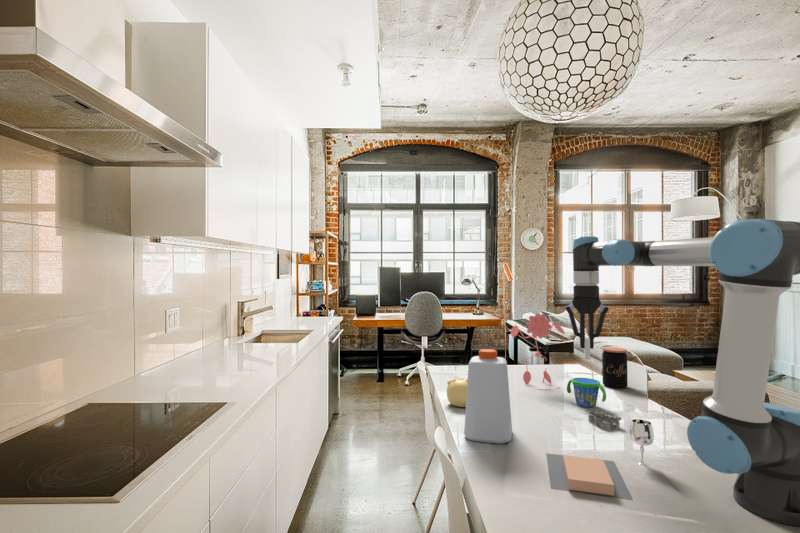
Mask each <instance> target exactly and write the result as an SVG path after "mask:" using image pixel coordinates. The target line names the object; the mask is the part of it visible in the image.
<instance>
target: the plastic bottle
mask: <svg viewBox="0 0 800 533" xmlns="http://www.w3.org/2000/svg"><path fill="white" fill-rule="evenodd" d="M467 380H468V381H467V397H466V407H465V413H464V414H465V415H464V430H463V433H464V436H465V438H467V439H468V440H469V441H473V442H480V443H489V444H497V445H503V444H508V443H510V442H511V441H512V438H513V426H512V425H513V423H512V413H511V398H510V397H511V396H510V384H509V373H508V360H506V358H504V357H501V356H498V351H497V350H496V349H491V348H483V349H479V350H478V355H474V356H472V357H471V358H470V360H469V362H468V370H467Z"/></svg>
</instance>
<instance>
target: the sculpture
mask: <svg viewBox="0 0 800 533" xmlns="http://www.w3.org/2000/svg"><path fill="white" fill-rule="evenodd" d="M467 381H468V379H465V378H463V377H458V378H455V379H451V380H448V381H446V383H447V387H446V397H447V401H448V402H449V404H450V405H452V406H454V407H459V408H464V407H465V408H466V397H467Z"/></svg>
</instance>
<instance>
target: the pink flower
mask: <svg viewBox="0 0 800 533" xmlns="http://www.w3.org/2000/svg"><path fill="white" fill-rule="evenodd" d="M528 319H529V322H527V323H526V327H527V329H526V333H527V334H531V335H530V336H525V335H524V334H523V333H522V331H521V330H520V329H519V327H518V325H517V324H515V325H513V327H511V329H510V335H511V337H512V339H514V338H515V337H516V336H517V335H519V333H520V334H521V336H522V337H523V339H529V338H533V339H535V345H536V351H535V352H534V355H531V356H529V357H527V358H526V359H525V364H526V365H525V366H526V368H528V361H527V360H528V359H531V358H533V357H537V358H539V357H542V358H544V359H545V360H547V357H545V356H544V355H542V352H540V351H539V346H538V342H537V341H538V340H537V338H539V339H543V338H545V337H546V338H547V337H548V336H549V335H550V332H551V330H552V328H553V327H554V329H556V330H557V331H558V332H559V333H561V334H563V335H566V332H565V331H564V329H563V328H562V327H561V325H560V324H558V323H557V322H555V321H553V322H552V325H551V324H550V323H551V319H550V318H546V314H545V313H543V312H542V313H541V314H540V313H535V314H534V315H529V316H528ZM542 374H543V378H542V383H545V381H546V382H548V384H550V385H552V379H551V376H550V374H549V373H548V372H547V369H545V370H544V371H543V373H542ZM522 379H523V382H524V384H525V386H527V385H528V384H530V382H531V379H532V374H531V372H530V371H529V370H528V369H526V371H524V373H523V376H522ZM538 390H543V391H544V390H545V391H549V390H550V391H551V390H553V388H552V389H551V388H550V389H549V388H548V389H546V388H545V389H544V388H543V389H542V388H538ZM556 390H559V387H557V388H556Z"/></svg>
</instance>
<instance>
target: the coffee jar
mask: <svg viewBox="0 0 800 533" xmlns="http://www.w3.org/2000/svg"><path fill="white" fill-rule="evenodd" d="M601 350H602V352H601V353H602V355H601V358H602V360H601V361H602V384H603V387H606V388H609V389H614V390H624V389H627V387H628V383H629V382H628V355H627V352H628V349H626V348H623V347H617V346H616V347H615V346H604V347H602V348H601Z"/></svg>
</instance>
